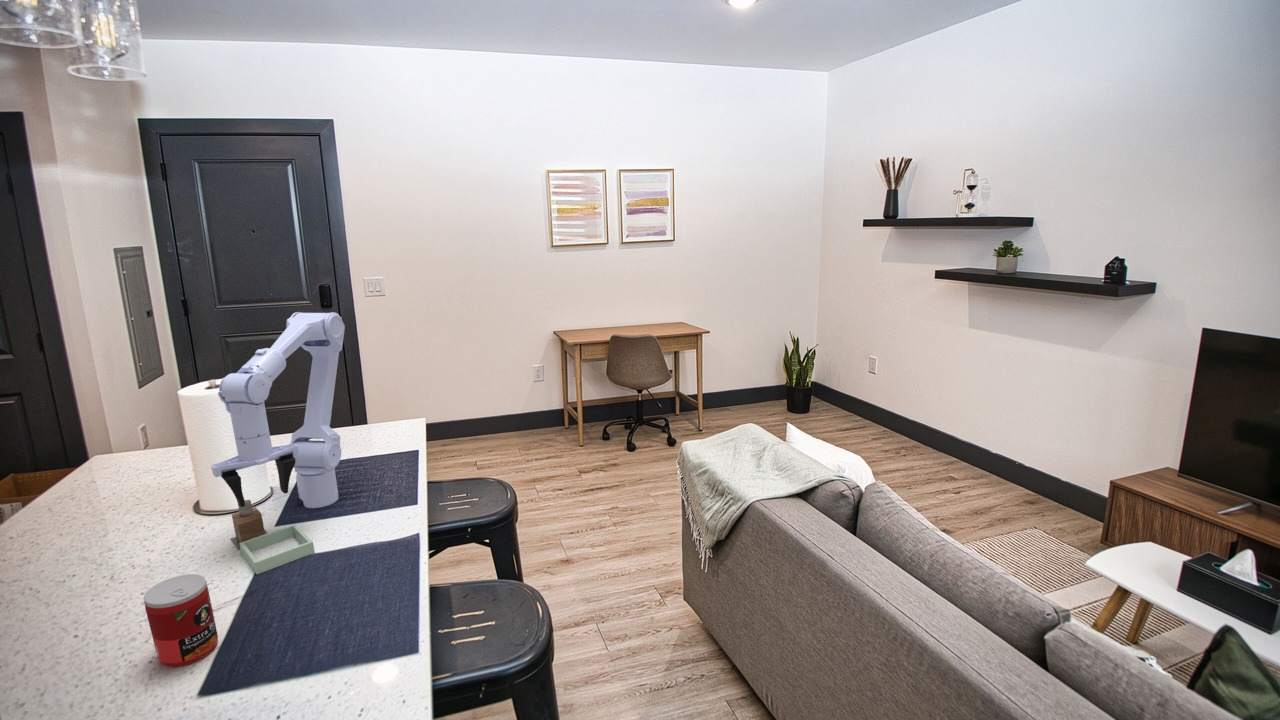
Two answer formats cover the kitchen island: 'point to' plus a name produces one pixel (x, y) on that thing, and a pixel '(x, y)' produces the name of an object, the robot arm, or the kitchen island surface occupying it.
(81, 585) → the kitchen island surface
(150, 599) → the canned food
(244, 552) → the bin
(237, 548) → the stud plate
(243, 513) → the brown square bottle
